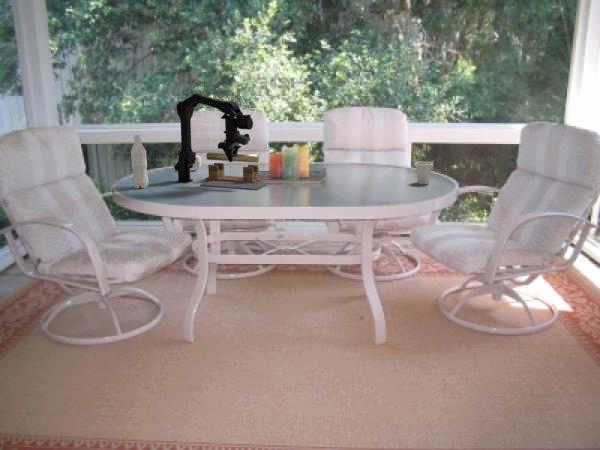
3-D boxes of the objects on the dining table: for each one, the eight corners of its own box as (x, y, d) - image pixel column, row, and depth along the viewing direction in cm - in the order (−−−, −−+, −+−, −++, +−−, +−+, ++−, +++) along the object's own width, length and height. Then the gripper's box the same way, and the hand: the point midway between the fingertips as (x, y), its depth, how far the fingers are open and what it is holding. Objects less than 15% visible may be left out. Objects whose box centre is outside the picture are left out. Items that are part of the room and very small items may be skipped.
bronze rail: (256, 163, 281) (255, 155, 280) (206, 160, 289) (206, 153, 288) (259, 161, 284) (258, 154, 283) (210, 159, 292) (209, 152, 291)
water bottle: (144, 189, 282) (140, 136, 275) (130, 188, 284) (126, 136, 277) (151, 186, 289) (147, 134, 282) (137, 185, 290) (133, 134, 284)
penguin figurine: (199, 155, 324) (177, 157, 325) (201, 171, 327) (180, 173, 327) (201, 153, 331) (179, 156, 331) (203, 169, 333) (182, 171, 333)
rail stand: (254, 184, 293) (254, 168, 291) (205, 180, 302) (204, 165, 299) (261, 180, 301) (261, 165, 299) (213, 177, 310) (213, 162, 308)
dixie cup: (431, 184, 290) (433, 164, 287) (414, 184, 292) (415, 164, 289) (431, 181, 298) (432, 161, 295) (414, 181, 300) (415, 161, 297)
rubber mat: (257, 190, 280) (257, 188, 280) (200, 186, 290) (200, 184, 289) (266, 185, 290) (266, 184, 290) (210, 181, 300) (210, 180, 299)
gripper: (238, 131, 271) (239, 165, 276) (254, 127, 288) (255, 159, 293) (216, 130, 275) (217, 164, 279) (233, 126, 292) (234, 158, 296)
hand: (232, 161), depth 287 cm, fingers closed on bronze rail, 3 cm apart
